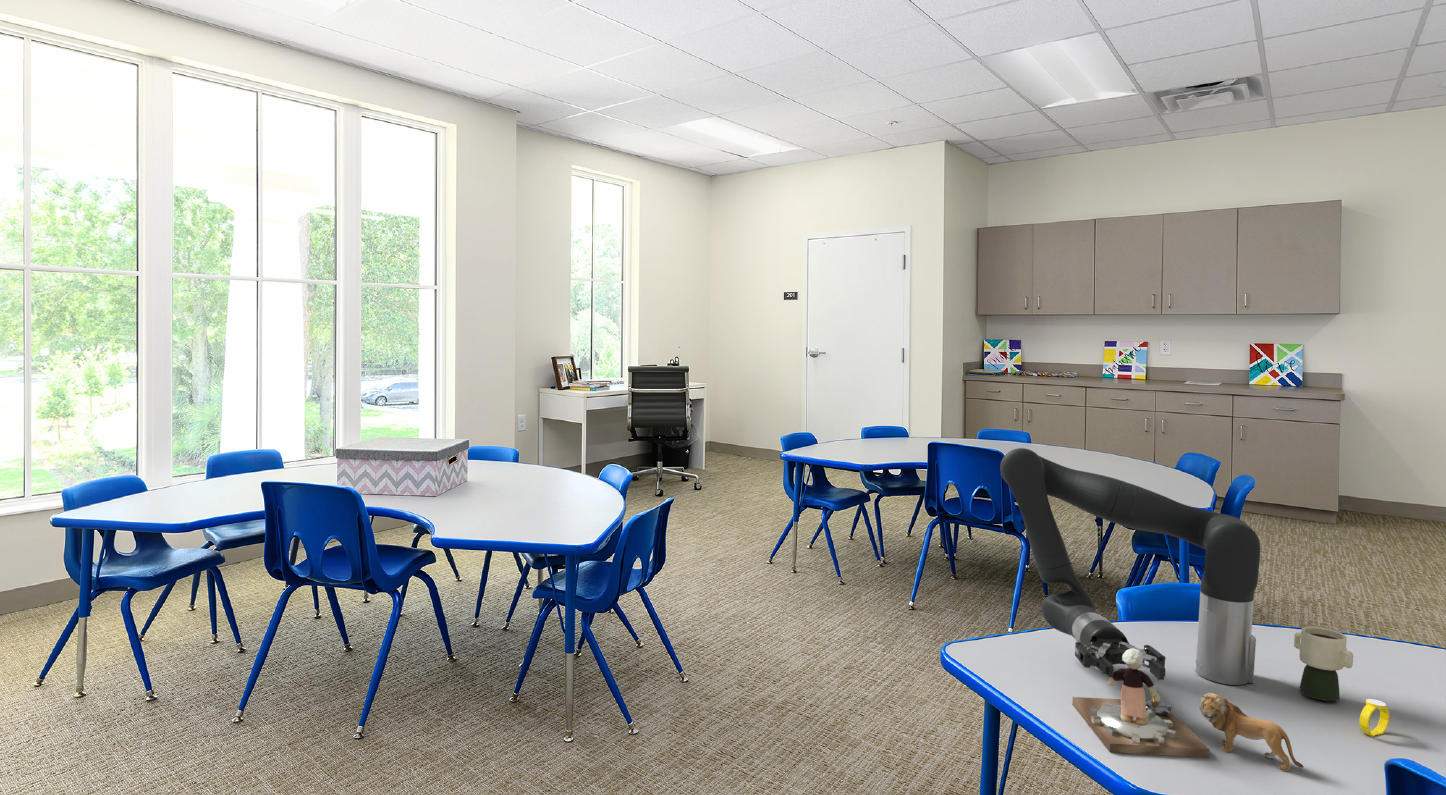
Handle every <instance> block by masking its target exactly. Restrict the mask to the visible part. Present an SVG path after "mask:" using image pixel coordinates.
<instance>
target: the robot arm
mask: <svg viewBox="0 0 1446 795" xmlns="http://www.w3.org/2000/svg"><path fill="white" fill-rule="evenodd" d="M999 470H1000V474H1001V477H1002V479H1003V480H1004V482H1005V483H1006V484H1007V485H1008V488H1009V490H1010V491H1011V493H1012V496H1013V497H1014V499H1015V501H1016V503H1017V505H1018V508H1019V511H1020V514H1021V516H1022V519H1023V520H1022V521H1023V522H1024V527H1025V530H1026V531H1025V532H1026V535H1027V539H1028V543H1029V546H1030V550H1031V553H1032V556H1033V559H1034V562H1035V565H1036V568H1037V573H1038V575H1039V577H1040V579H1041V581H1042V582H1043V583H1045V584H1064V585H1066V587H1067V588H1068V590H1067V591H1062V592H1059V593H1055V594H1050V595H1048V596H1047V597H1044V599H1043V600H1042V602H1041V613H1042V617H1043V618H1044V620H1045V621H1046V622H1047V623H1048V625H1050V627H1052V628H1053V629H1055V630H1056V631H1058V632H1060V633H1064V634H1066V635H1068V636H1072V638H1074V640H1075V641H1076V642H1075V645H1074V646H1075V647H1074V648H1075V649H1074V656H1075V657H1076V659H1077V660H1078V661H1079V663H1080V664H1081V665H1082V667H1084V668H1087V669H1088V668H1091V667H1092V666H1093V667H1094V669H1096V670H1098V671H1100V672H1101V674H1103V675H1105V676H1106V677H1107V678H1110V677H1111V678H1113V673H1114V672H1115V671H1114V668H1115V667H1114V665H1122V666H1127V665H1126V663H1125V662H1124V661H1123V660H1122V659H1123V658H1122V656H1123V654H1124V653H1125V651H1126V650H1128V649H1132V648H1134V649H1138V650H1139V651H1140V652H1142V655H1143V662H1142V663H1143V664H1142V665H1141V667H1140V668H1139V669H1137V670H1140V671H1141V670H1146V671H1149V672H1150V674H1151V675H1152V676H1154V677H1155V678H1156V679H1157V680H1158V681H1164V679H1165V678H1166V668H1165V667H1166V656H1165V655H1164V654H1162V653H1160V651H1158V650H1157V649H1156V648H1154V647H1153V646H1151V645H1148V644H1144V645H1143V648H1138V647H1136V646H1135V645H1132V644H1130V642H1129V640H1128V638H1127V636H1126V635H1125V634H1124V632H1122V631H1121V630H1120V629H1119V628H1118V627H1117V626H1115V625H1114V624H1113V623H1112V622H1110V621H1109V620H1108V619H1107V618H1106V617H1104V616H1102V615H1100V613H1098V611H1096V605H1095V603H1094V601H1093V599H1092V598H1091V596H1090V594H1089V593H1088V592H1087V589H1085V587H1084V586H1083V585H1082V583H1081V581H1080V579H1079V577H1078V576H1077V575H1076V574H1077V573H1076V572H1075V570H1074V568H1073V565H1072V563H1071V559H1070V556H1069V553H1068V550H1067V547H1066V544H1065V542H1064V539H1063V536H1062V535H1061V532H1060V528H1059V527H1058V524H1057V521H1056V520H1055V517H1054V514H1053V511H1052V509H1051V504H1050V501H1049V497H1053V498H1055V499H1059V500H1061V501H1063V502H1066V503H1068V504H1069V505H1072V506H1074V507H1076V508H1078V509H1080V510H1082V511H1084V512H1086V513H1089V514H1091V515H1093V516H1094V517H1097V518H1101V519H1103V520H1106V521H1108V522H1111V523H1114V524H1117V525H1120V526H1122V527H1125V528H1129V529H1134V530H1137V531H1142V532H1150V533H1156V534H1164V535H1168V536H1171V537H1175V538H1177V539H1181V540H1183V541H1185V542H1187V543H1190V544H1191V545H1194V546H1196V547H1199V548H1201V549H1203V550H1205V560H1204V571H1203V572H1204V573H1203V576H1202V578H1201V579H1200V591H1199V593H1200V594H1199V609H1198V625H1197V641H1196V658H1195V659H1196V660H1195V672H1196V673H1197V674H1198V675H1199V676H1201V677H1202V678H1204V679H1206V680H1209V681H1213V682H1215V683H1220V684H1224V685H1229V686H1243V685H1246V684H1248V683H1254V674H1255V661H1256V660H1255V659H1256V646H1257V644H1256V643H1257V638H1256V636H1254V635H1252V634H1253V633H1252V632H1253V630H1252V629H1253V616H1254V601H1255V591H1256V589H1257V587H1258V582H1259V573H1260V572H1259V571H1260V562H1261V543H1260V541H1261V540H1260V538H1259V536H1258V535H1257V533H1256V532H1255V531H1254V530H1253V529H1252V527H1250V525H1248V524H1247V523H1246V521H1243V519H1240V518H1239V517H1236V516H1233V515H1229V514H1224V513H1219V512H1214V511H1210V510H1207V509H1202V508H1198V507H1195V506H1191V505H1187V504H1185V503H1181V502H1178V501H1176V500H1174V499H1171V498H1169V497H1167V496H1164V495H1162V494H1160V493H1157V492H1155V491H1152V490H1150V489H1147V488H1144V487H1141V486H1139V485H1136V484H1134V483H1130V482H1127V481H1124V480H1121V479H1118V478H1115V477H1111V476H1106V475H1102V474H1098V473H1095V472H1094V473H1093V472H1088V471H1082V470H1077V469H1074V468H1073V469H1072V468H1070V467H1067V466H1065V465H1062V464H1058V463H1056V462H1054V461H1051V460H1049V459H1047V458H1045V457H1042V456H1041V455H1039V454H1037V453H1036V452H1035V451H1033V450H1031V449H1029V448H1026V447H1025V448H1024V447H1021V448H1014V449H1012V450H1010V451H1008V452H1007V453H1006V454H1005V455H1004V456H1003V457H1002V460H1001V461H1000V467H999ZM1048 496H1049V497H1048ZM1145 662H1148V664H1146V663H1145Z"/></svg>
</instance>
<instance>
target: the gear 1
mask: <svg viewBox="0 0 1446 795" xmlns="http://www.w3.org/2000/svg"><path fill="white" fill-rule="evenodd" d="M1090 714H1093V715H1096V716H1091V722H1092V723H1093V724H1095V725H1102V726H1103V727H1104V728H1106V733H1107V734H1109V735H1111V736H1113V735H1116V734H1117V735H1120V736H1123V737H1126V738H1130V739H1131V740H1132V742H1133V743H1138V744H1139V742H1140V741H1154V742H1155V743H1157V744H1158V745H1161V744H1164V738H1165V737H1168V738H1171V739H1175V735H1176V731H1173V730H1170V729H1168V728H1172V729H1173V723H1172V722H1171V721H1170V720H1162V719H1161V718H1160V717H1158V716H1157V715H1156V711H1154V710H1152V711H1151V709H1149V710H1147V711H1146V717H1147V718H1148V719H1149V723H1147V724H1145V725H1141V724H1138V723H1136V722H1135V721H1136V718H1137V717H1135V716H1133V719H1132V721H1131V722H1127V721H1123V720H1122V719H1121V716H1120V715H1121V705H1112V704H1110V703H1109V702H1102V707H1101V708H1097V707H1093V706H1092V707H1091V708H1090Z"/></svg>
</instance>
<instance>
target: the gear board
mask: <svg viewBox="0 0 1446 795" xmlns="http://www.w3.org/2000/svg"><path fill="white" fill-rule="evenodd" d="M1071 702H1072V706H1073V708H1075V710H1076V712H1078V714H1079V715H1080V717H1081V718H1083V720H1084V721H1085V723H1086V724H1087V726H1088V727H1089V728H1090V729H1091V730H1092V731H1093V733H1094V734H1095V735H1096V737H1097V738H1098V739H1099V741H1101V743H1102V744H1103V745H1104V746H1105V749H1107V751H1108V752H1109V753H1121V754H1139V755H1155V756H1159V755H1160V756H1175V757H1193V758H1194V757H1195V758H1210V748H1209V747H1208V746H1207V745H1206V744H1205V743H1204V742H1203V741H1202V740H1201V739H1200V738H1199V737H1198V736H1197V735H1196V734H1195V733H1194V732H1193V731H1192V730H1190V728H1189V727H1188V726H1186V724H1184V722H1182V721H1181V719H1179V718H1178V717H1177V716H1176V715H1175V713H1173V712H1172V711H1171V714H1170V717H1169V718H1167V717H1165V716H1158V717H1160V718H1161V719H1162V720H1170V721H1171V722H1172V723H1173V729H1172V728H1168V729H1170V730H1173V731H1176V735H1175V739H1171V738H1168V737H1165V738H1164V744H1161V745H1158V744H1157V743H1155V742H1154V741H1140V742H1139V744H1138V743H1133V742H1132V740H1131V739H1130V738H1126V737H1123V736H1120V735H1117V734H1116V735H1113V736H1111V735H1109V734H1107V733H1106V728H1104V727H1103V726H1102V725H1095V724H1093V723H1092V722H1091V716H1096V715H1093V714H1090V708H1091V707H1092V706H1093V707H1097V708H1101V707H1102V702H1109V703H1110V704H1112V705H1121V698H1120V699H1119V698H1103V697H1102V698H1099V697H1082V696H1081V697H1080V696H1072V701H1071ZM1159 702H1160V703H1163V702H1161V701H1160V700H1159Z"/></svg>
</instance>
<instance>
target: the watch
mask: <svg viewBox="0 0 1446 795" xmlns="http://www.w3.org/2000/svg"><path fill="white" fill-rule="evenodd" d="M1365 704H1366V705H1365V706H1364V707H1363V708H1362V710H1361V712H1360V715H1359V720H1358V722H1359V728H1360V731H1361V732H1362V733H1363V734H1364V733H1365V734H1364V735H1366V734H1368V735H1367V736H1369V735H1370V736H1369V737H1371V736H1373V737H1376V736H1375V735H1377V734H1378V735H1377V736H1380V735H1379V734H1381V735H1382V734H1383V735H1384V733H1386V731H1387V729H1388V727H1389V724H1390V718H1391V717H1390V711H1389V708H1388V706H1387V704H1386V703H1385V702H1384V701H1380V700H1377V699H1375V698H1374V699H1373V698H1367V699H1365ZM1377 709H1378V710H1379V720H1378V722H1377V725H1376V726H1375V727H1374V729H1370V719H1371V717H1372V714H1373V713H1374V711H1376V710H1377ZM1370 731H1371V732H1370Z"/></svg>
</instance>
